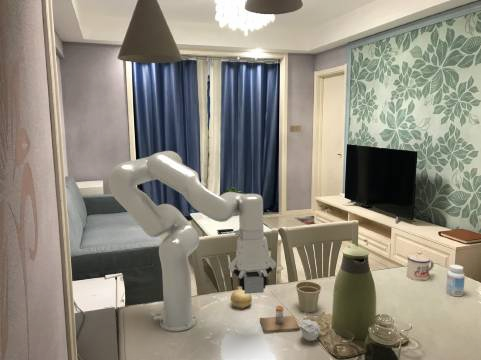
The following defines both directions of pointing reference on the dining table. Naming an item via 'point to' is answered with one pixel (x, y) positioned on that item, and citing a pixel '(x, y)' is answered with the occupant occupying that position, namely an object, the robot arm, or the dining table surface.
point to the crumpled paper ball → (309, 330)
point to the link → (253, 282)
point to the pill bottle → (455, 280)
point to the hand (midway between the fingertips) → (253, 287)
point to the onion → (240, 298)
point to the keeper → (279, 322)
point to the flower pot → (308, 295)
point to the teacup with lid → (419, 266)
